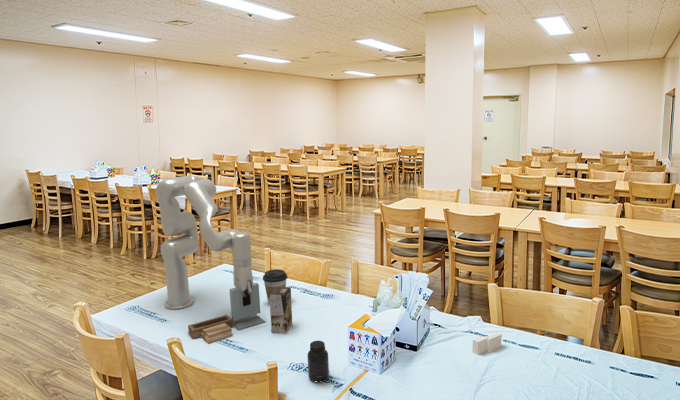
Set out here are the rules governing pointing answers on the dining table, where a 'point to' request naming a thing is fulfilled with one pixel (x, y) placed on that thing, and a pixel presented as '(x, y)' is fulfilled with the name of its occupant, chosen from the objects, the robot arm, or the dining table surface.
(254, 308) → the square sheet
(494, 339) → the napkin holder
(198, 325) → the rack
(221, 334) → the offcut stack
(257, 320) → the mat
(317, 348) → the supplement bottle
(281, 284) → the coffee cup
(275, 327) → the coffee box
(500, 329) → the dining table surface
